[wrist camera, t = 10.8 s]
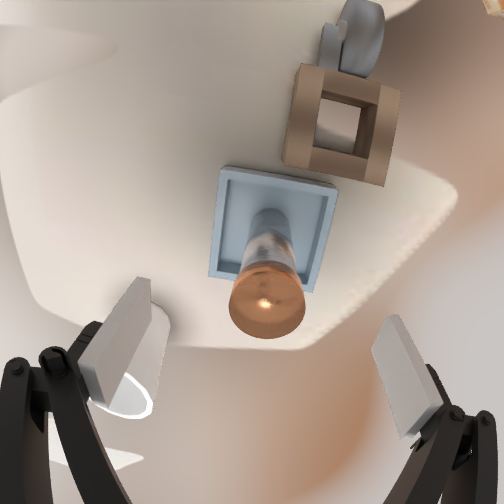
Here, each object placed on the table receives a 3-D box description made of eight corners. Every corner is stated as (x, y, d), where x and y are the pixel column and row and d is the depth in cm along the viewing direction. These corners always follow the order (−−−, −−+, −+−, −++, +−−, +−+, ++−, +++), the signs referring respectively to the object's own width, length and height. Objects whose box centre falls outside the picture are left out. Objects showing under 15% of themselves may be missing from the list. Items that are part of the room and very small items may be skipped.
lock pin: (252, 203, 30) (233, 269, 16) (295, 210, 30) (313, 282, 16) (245, 243, 32) (225, 332, 18) (287, 250, 32) (295, 343, 18)
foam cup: (182, 297, 36) (147, 373, 24) (183, 352, 39) (158, 426, 27) (113, 285, 36) (61, 348, 24) (121, 339, 39) (84, 404, 27)
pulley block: (306, 6, 22) (317, -28, 14) (389, 29, 22) (422, 6, 14) (281, 159, 29) (286, 170, 21) (366, 177, 29) (396, 194, 21)
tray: (224, 165, 29) (220, 169, 26) (332, 184, 29) (338, 190, 26) (213, 263, 33) (208, 276, 31) (309, 279, 34) (312, 292, 31)
